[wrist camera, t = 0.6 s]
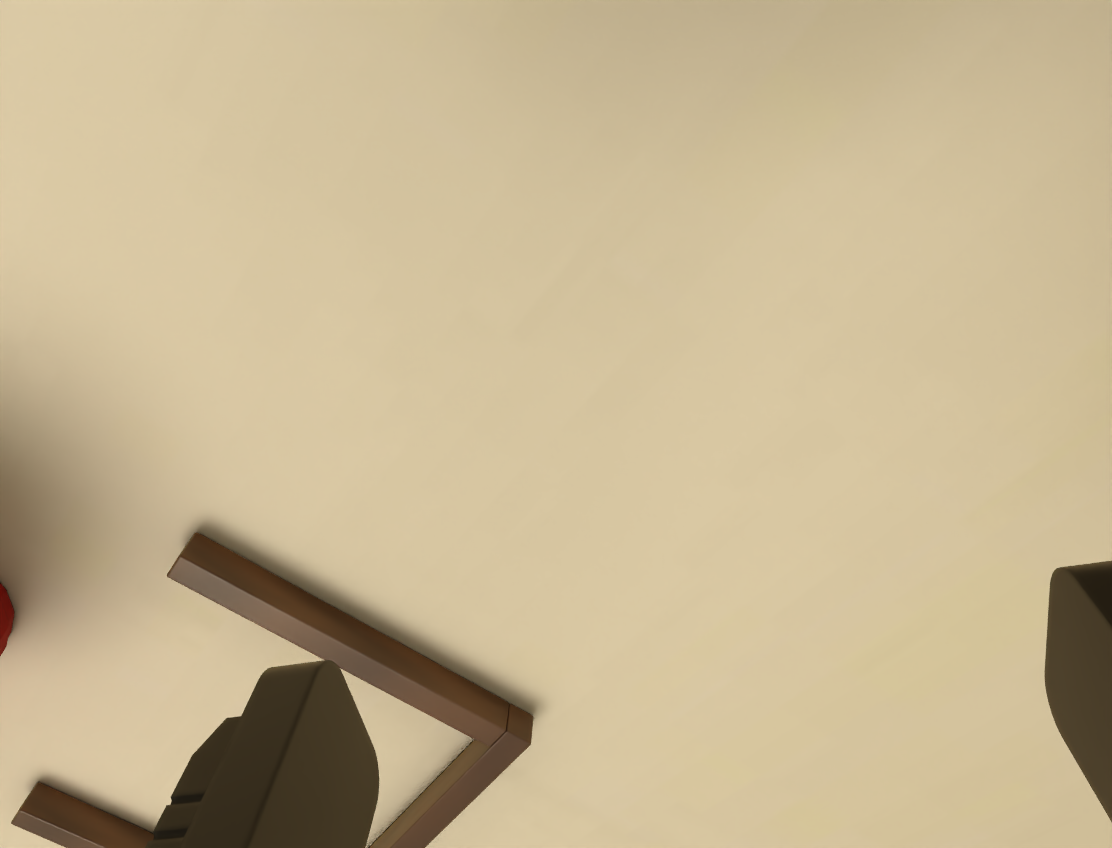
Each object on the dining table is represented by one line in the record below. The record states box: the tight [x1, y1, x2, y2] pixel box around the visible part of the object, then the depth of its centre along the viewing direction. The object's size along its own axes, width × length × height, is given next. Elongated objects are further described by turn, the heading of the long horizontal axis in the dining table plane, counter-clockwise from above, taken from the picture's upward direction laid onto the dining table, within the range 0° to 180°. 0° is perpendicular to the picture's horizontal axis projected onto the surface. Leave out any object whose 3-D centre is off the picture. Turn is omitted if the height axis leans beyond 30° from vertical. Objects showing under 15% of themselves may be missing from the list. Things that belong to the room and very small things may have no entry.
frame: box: [11, 532, 533, 848], centre depth 37 cm, size 15×18×2 cm
